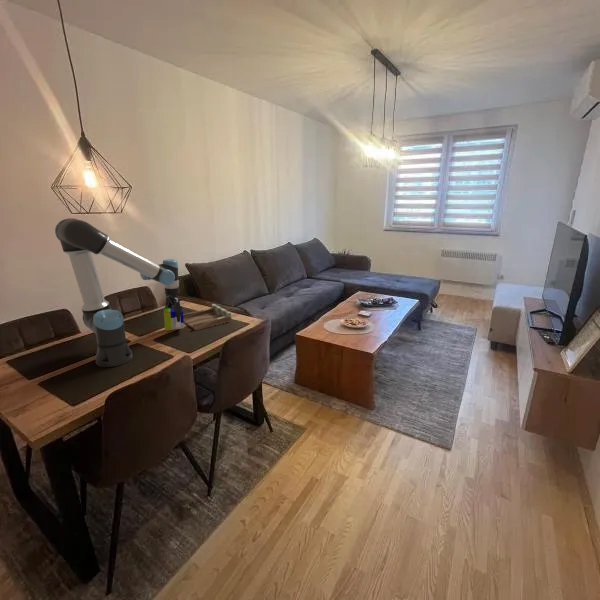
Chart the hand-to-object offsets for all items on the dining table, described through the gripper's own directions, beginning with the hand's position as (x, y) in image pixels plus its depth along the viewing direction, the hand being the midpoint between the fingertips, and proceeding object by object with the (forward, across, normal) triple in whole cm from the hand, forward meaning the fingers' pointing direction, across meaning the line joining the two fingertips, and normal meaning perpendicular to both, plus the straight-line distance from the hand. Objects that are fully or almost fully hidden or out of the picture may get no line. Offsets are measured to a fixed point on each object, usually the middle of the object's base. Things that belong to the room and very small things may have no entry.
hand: (174, 323), depth 188 cm
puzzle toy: (+2, 0, 0) cm, 2 cm away
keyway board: (+4, +5, -22) cm, 23 cm away
